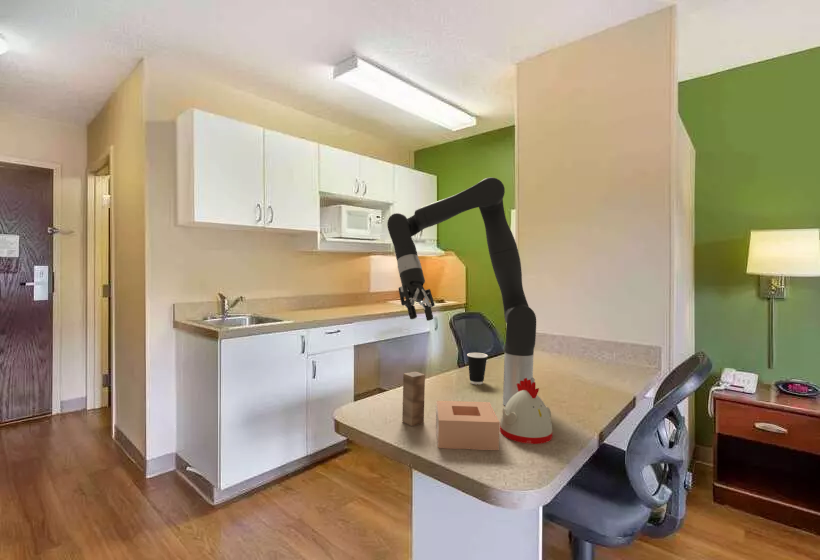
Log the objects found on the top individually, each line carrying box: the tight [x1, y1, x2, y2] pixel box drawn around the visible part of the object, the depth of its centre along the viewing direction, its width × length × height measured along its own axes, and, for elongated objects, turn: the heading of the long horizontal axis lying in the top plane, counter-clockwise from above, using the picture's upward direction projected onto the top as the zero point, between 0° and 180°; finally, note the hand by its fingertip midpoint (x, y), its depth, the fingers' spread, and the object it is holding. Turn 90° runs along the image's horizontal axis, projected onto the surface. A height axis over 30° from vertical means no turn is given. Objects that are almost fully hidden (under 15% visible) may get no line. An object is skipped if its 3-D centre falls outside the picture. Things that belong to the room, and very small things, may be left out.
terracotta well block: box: [435, 400, 501, 451], centre depth 111 cm, size 15×15×7 cm
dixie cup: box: [466, 352, 489, 385], centre depth 162 cm, size 8×8×11 cm
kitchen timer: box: [499, 378, 553, 445], centre depth 114 cm, size 14×14×15 cm
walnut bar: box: [401, 371, 426, 427], centre depth 120 cm, size 4×4×14 cm
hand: (422, 319), depth 129 cm, fingers open, 8 cm apart
